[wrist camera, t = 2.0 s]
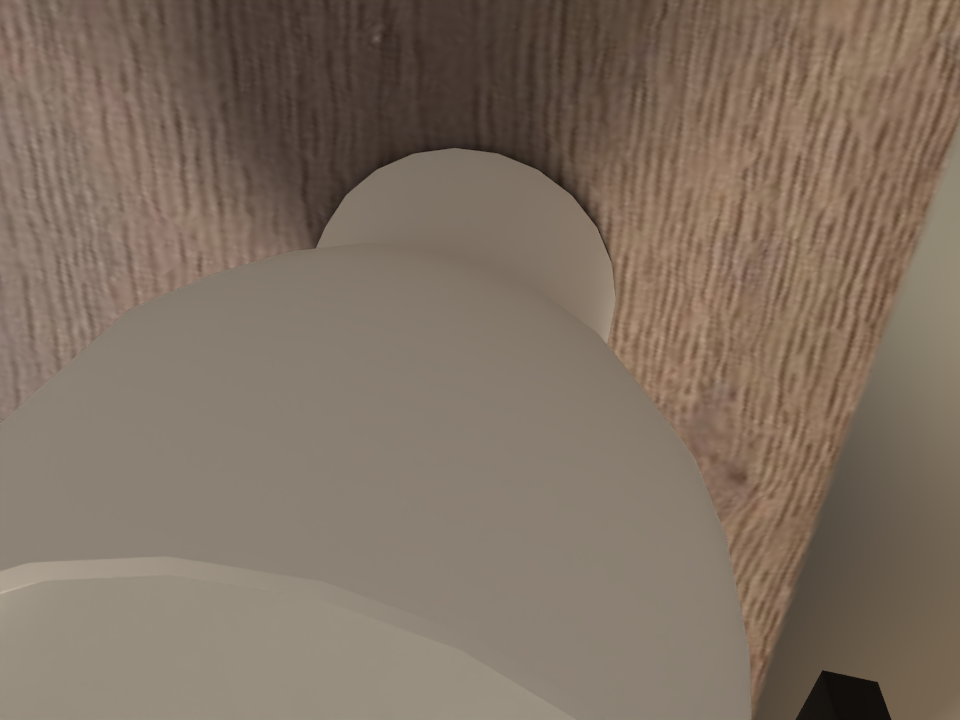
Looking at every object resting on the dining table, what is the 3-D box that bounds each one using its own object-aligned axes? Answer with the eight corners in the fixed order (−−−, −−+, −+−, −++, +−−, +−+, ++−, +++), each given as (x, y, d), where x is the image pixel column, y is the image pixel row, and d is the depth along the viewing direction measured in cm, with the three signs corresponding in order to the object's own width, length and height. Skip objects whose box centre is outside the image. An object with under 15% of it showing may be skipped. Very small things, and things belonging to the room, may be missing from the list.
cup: (622, 24, 18) (681, 368, 5) (708, 427, 23) (852, 1145, 10) (194, 152, 21) (-481, 594, 8) (349, 491, 25) (87, 1124, 12)
